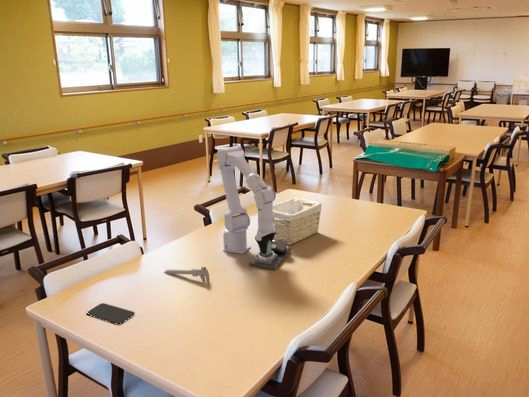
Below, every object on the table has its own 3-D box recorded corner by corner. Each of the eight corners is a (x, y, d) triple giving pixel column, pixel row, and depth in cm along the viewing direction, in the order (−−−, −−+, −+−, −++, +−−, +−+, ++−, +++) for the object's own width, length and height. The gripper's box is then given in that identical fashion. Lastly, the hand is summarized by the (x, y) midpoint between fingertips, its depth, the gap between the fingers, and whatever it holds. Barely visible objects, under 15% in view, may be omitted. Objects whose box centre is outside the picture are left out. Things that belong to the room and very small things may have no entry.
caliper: (209, 282, 165) (208, 266, 163) (208, 283, 164) (207, 268, 162) (165, 272, 174) (164, 257, 172) (163, 273, 173) (162, 258, 171)
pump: (258, 255, 176) (258, 242, 175) (262, 251, 180) (262, 238, 178) (273, 257, 174) (273, 244, 172) (277, 253, 178) (277, 240, 176)
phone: (102, 302, 151) (136, 312, 145) (102, 304, 151) (136, 314, 145) (84, 313, 145) (119, 323, 138) (85, 315, 145) (119, 326, 138)
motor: (248, 265, 177) (248, 250, 175) (266, 248, 192) (266, 234, 191) (275, 270, 172) (275, 255, 170) (291, 252, 188) (291, 238, 186)
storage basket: (295, 224, 220) (295, 196, 216) (322, 232, 210) (323, 202, 206) (263, 239, 203) (262, 208, 199) (290, 248, 193) (290, 215, 189)
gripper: (267, 226, 165) (268, 259, 169) (281, 213, 178) (282, 245, 182) (250, 223, 168) (251, 257, 172) (265, 211, 180) (266, 243, 184)
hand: (265, 251), depth 177 cm, fingers closed on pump, 4 cm apart
